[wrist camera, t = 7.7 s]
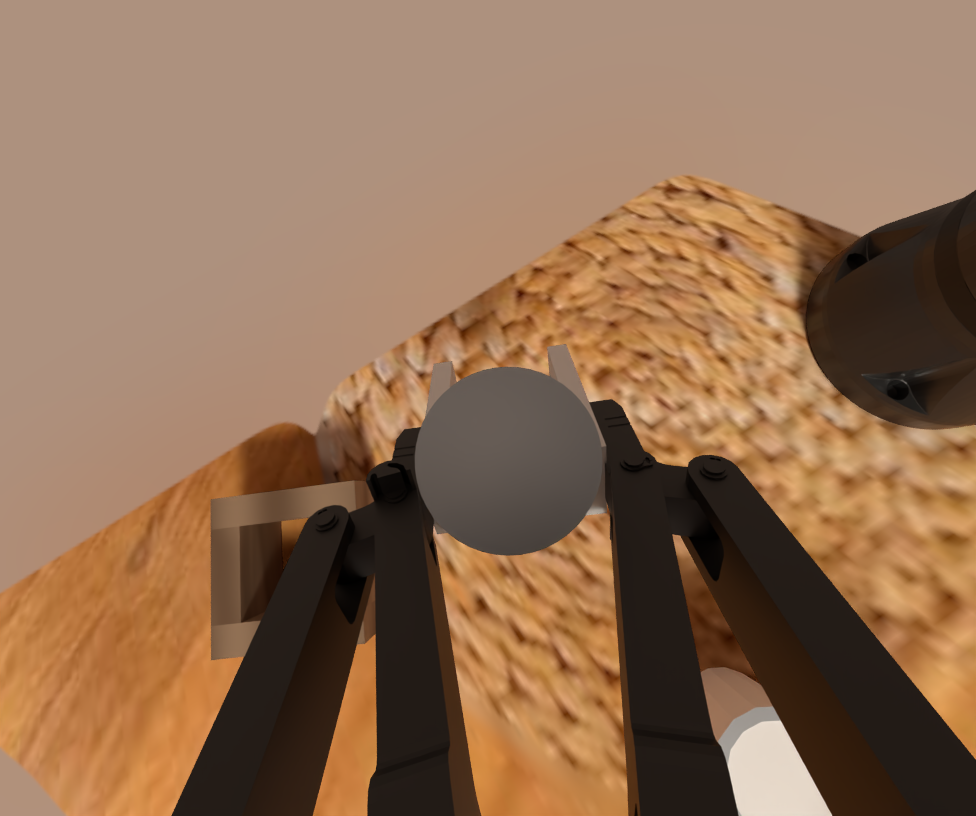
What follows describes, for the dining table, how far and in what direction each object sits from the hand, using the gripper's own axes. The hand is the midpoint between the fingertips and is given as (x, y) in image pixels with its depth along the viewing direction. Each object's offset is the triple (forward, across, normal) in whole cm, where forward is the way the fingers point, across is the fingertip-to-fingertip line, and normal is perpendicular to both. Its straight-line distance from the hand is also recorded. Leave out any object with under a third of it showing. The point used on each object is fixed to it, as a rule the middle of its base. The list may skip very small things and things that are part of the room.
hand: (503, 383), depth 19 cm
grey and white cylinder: (-3, +11, -26) cm, 28 cm away
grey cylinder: (0, 0, -5) cm, 5 cm away
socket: (+6, -16, -16) cm, 23 cm away
